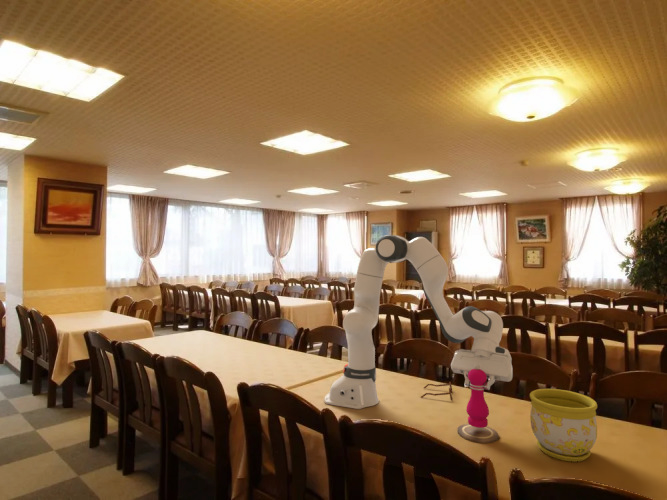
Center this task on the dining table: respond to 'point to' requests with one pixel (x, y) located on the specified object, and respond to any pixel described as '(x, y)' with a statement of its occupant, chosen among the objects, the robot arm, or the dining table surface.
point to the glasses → (439, 393)
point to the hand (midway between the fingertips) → (476, 386)
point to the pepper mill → (477, 398)
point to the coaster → (477, 433)
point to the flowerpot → (563, 423)
